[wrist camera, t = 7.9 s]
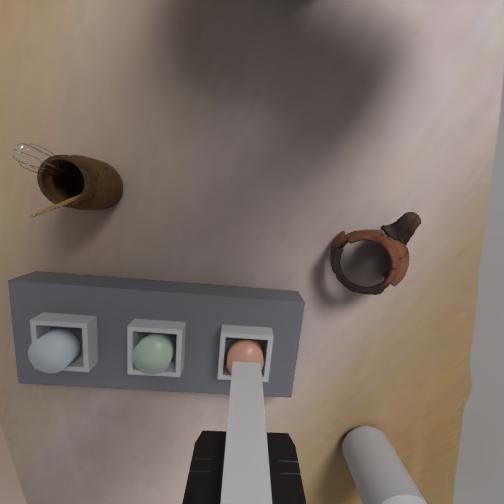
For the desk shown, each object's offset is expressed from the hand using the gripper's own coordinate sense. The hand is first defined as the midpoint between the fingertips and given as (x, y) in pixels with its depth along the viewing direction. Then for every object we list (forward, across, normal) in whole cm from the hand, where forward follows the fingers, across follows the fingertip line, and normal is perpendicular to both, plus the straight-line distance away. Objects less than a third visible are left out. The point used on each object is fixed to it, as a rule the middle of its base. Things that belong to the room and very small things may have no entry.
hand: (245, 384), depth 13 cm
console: (+21, -11, -10) cm, 26 cm away
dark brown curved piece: (+23, +17, +4) cm, 28 cm away
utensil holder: (+22, -19, +9) cm, 31 cm away
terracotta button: (+16, 0, -10) cm, 19 cm away
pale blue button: (+15, -22, -9) cm, 28 cm away
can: (+21, +21, -28) cm, 41 cm away
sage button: (+16, -11, -10) cm, 22 cm away
